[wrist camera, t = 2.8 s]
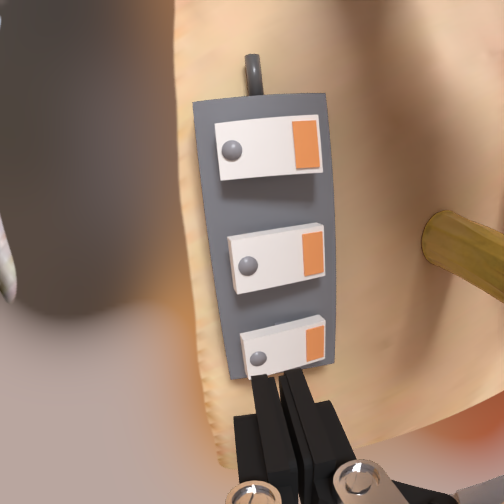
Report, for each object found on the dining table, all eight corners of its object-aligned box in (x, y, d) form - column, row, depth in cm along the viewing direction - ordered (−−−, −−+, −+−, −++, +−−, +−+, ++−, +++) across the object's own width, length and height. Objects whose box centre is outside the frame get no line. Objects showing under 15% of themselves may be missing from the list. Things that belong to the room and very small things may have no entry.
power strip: (191, 65, 24) (187, 51, 20) (307, 57, 24) (321, 44, 21) (229, 358, 32) (230, 382, 28) (324, 344, 33) (335, 366, 29)
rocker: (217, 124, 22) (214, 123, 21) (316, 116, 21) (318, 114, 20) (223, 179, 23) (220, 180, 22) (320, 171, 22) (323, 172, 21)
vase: (467, 242, 31) (558, 287, 18) (432, 275, 32) (519, 336, 18) (450, 198, 30) (553, 232, 16) (412, 232, 30) (511, 284, 17)
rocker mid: (227, 236, 23) (231, 241, 22) (316, 222, 25) (324, 225, 24) (233, 288, 24) (237, 295, 23) (318, 270, 26) (326, 276, 25)
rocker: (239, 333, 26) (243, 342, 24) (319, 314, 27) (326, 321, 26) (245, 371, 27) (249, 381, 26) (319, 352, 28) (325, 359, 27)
